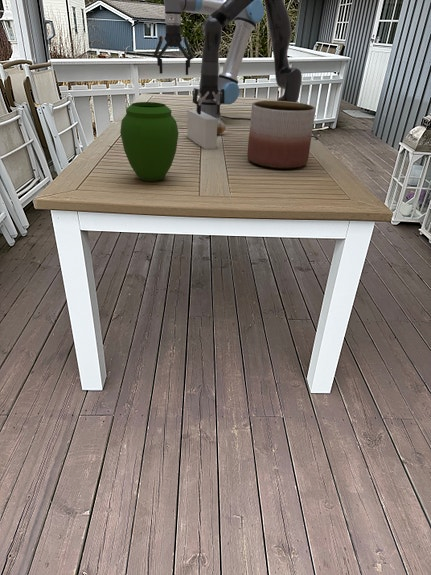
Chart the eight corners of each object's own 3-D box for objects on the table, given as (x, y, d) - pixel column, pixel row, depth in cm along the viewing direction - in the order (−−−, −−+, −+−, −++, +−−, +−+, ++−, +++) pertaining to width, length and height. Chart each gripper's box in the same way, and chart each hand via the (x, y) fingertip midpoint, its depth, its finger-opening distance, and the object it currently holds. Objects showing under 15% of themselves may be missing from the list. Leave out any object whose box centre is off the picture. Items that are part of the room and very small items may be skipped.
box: (187, 137, 206) (187, 109, 199) (198, 136, 208) (198, 109, 201) (204, 148, 187) (205, 119, 180) (216, 148, 189) (217, 118, 182)
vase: (131, 189, 135) (125, 110, 122) (118, 172, 150) (112, 100, 137) (186, 184, 142) (187, 109, 129) (169, 168, 157) (167, 99, 144)
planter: (316, 170, 164) (326, 111, 152) (255, 170, 160) (260, 110, 148) (295, 154, 185) (303, 101, 173) (241, 154, 181) (245, 99, 169)
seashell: (224, 133, 216) (225, 117, 212) (226, 135, 212) (227, 119, 207) (206, 132, 215) (207, 116, 211) (208, 135, 210) (208, 118, 206)
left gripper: (145, 23, 196) (148, 73, 207) (196, 25, 193) (196, 76, 204) (150, 23, 202) (152, 72, 213) (199, 25, 199) (199, 74, 210)
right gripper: (197, 74, 169) (196, 115, 178) (228, 74, 174) (225, 115, 183) (191, 72, 175) (190, 112, 184) (221, 73, 180) (219, 112, 189)
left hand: (174, 74), depth 209 cm, fingers open, 13 cm apart
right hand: (208, 114), depth 183 cm, fingers open, 8 cm apart
